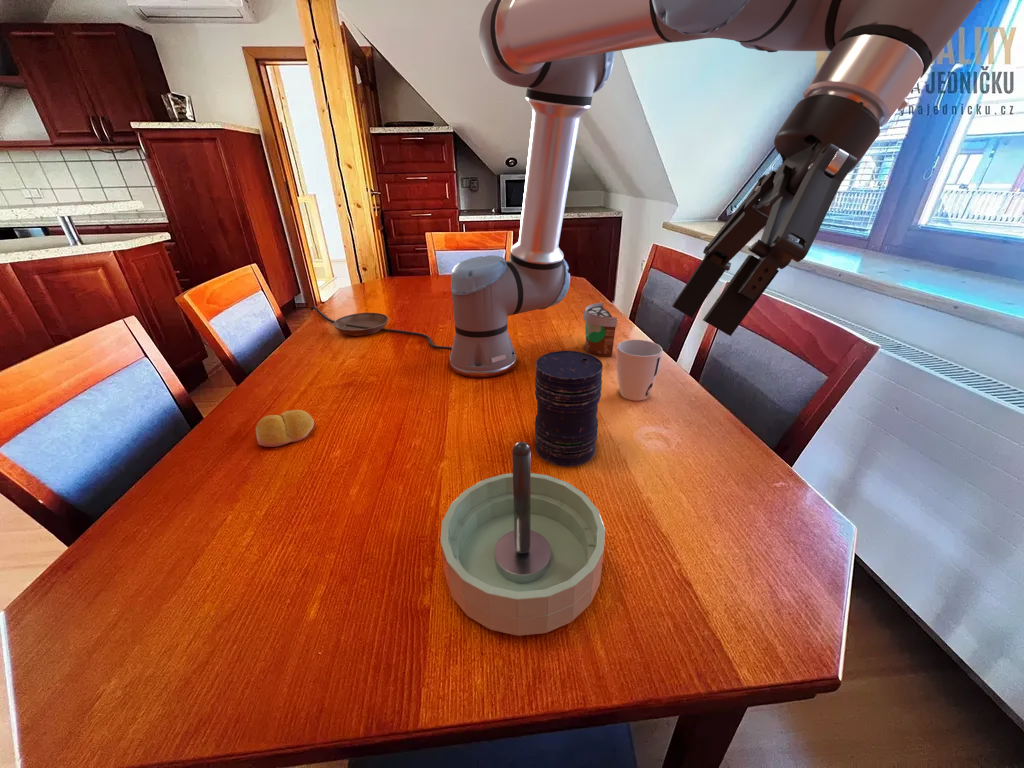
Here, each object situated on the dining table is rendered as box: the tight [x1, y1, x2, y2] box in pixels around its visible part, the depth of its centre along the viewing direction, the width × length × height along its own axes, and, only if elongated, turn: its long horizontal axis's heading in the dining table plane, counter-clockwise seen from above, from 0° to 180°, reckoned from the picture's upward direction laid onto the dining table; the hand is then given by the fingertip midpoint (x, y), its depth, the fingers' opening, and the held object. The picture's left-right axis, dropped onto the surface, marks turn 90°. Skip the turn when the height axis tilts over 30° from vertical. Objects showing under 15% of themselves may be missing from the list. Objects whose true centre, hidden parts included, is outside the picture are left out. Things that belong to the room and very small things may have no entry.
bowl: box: [439, 472, 606, 637], centre depth 47 cm, size 18×18×6 cm
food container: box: [582, 302, 618, 357], centre depth 102 cm, size 12×6×10 cm, turn 5°
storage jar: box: [534, 350, 604, 467], centre depth 65 cm, size 10×10×15 cm
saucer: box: [332, 312, 390, 337], centre depth 119 cm, size 15×15×3 cm
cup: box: [616, 339, 663, 402], centre depth 81 cm, size 8×8×10 cm
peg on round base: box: [494, 441, 551, 583], centre depth 45 cm, size 6×6×16 cm
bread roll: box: [255, 409, 315, 448], centre depth 73 cm, size 8×9×4 cm
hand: (696, 319), depth 45 cm, fingers open, 13 cm apart
